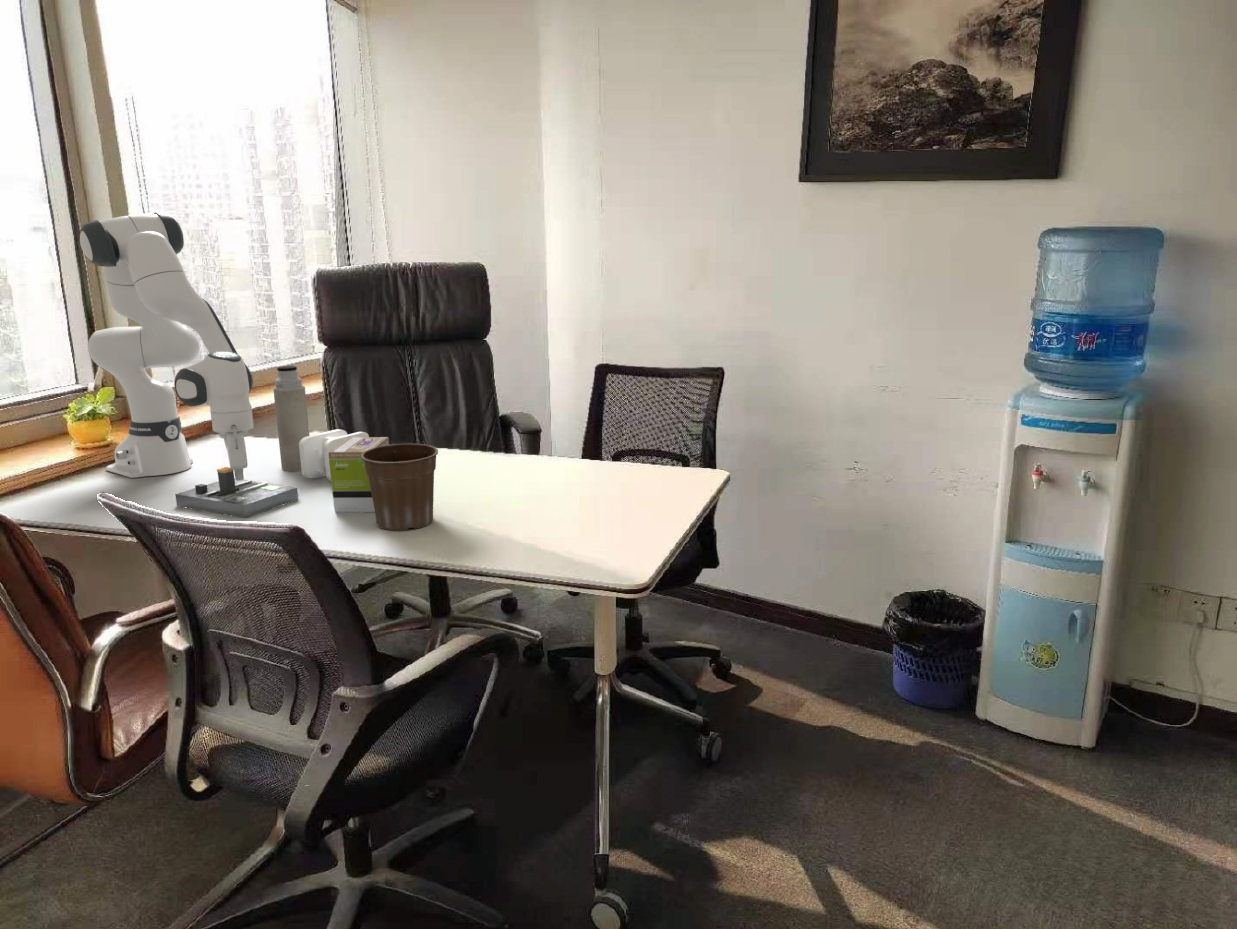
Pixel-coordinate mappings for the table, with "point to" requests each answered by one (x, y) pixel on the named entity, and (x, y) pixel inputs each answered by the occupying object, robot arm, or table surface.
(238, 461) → the robot arm
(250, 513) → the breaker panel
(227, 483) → the breaker lever
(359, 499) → the tea box
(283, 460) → the thermos bottle
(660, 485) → the table surface
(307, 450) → the cable organizer
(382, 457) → the plant pot
